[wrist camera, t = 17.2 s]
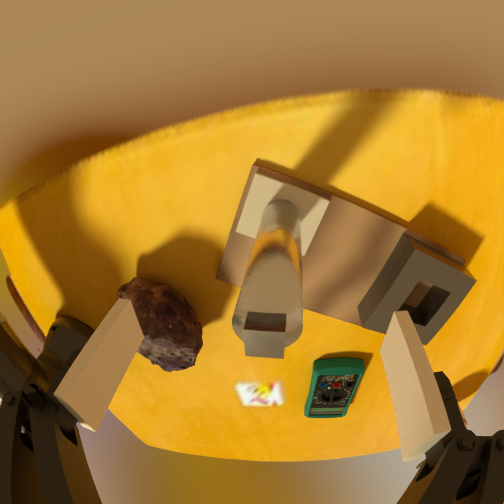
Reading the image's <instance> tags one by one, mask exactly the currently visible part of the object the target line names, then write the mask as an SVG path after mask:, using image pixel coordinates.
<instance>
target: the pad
mask: <svg viewBox="0 0 504 504" xmlns="http://www.w3.org/2000/svg"><path fill="white" fill-rule="evenodd" d="M277 199H285V200H288V201H290V202H292V203H293V204H295V205H296V207H297V208H298V210H299V213H300V226H301V252H302V256H304V255H305V253H306V251H307V249H308V247H309V245H310V243H311V241H312V239H313V237H314V235H315V232H316V230H317V228H318V226H319V224H320V222H321V220H322V217H323V215H324V213H325V211H326V209H327V206H328V204H329V202H330V201H329V199H326V198H324V197H322V196H319V195H317V194H314V193H312V192H309V191H306V190H304V189H301V188H299V187H296V186H293V185H291V184H288V183H285V182H283V181H280V180H277V179H274V178H272V177H269V176H266V175H263V174H260V173H258V172H256V173H255V175H254V178H253V181H252V184H251V187H250V190H249V193H248V196H247V199H246V202H245V205H244V208H243V211H242V214H241V217H240V220H239V223H238V226H237V229H236V232H238V233H241V234H243V235H246V236H249V237H252V238H255V239H256V235H257V232H258V228H259V225H260V222H261V218H262V215H263V211H264V209H265V207H266V206H267V205H268V204H269V203H270V202H272V201H274V200H277Z"/></svg>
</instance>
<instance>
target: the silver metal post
mask: <svg viewBox="0 0 504 504" xmlns="http://www.w3.org/2000/svg"><path fill="white" fill-rule="evenodd" d="M232 326H233V329H234V331H235V333H236V335H237V336H238V337H239V338H240V339H241V340H242V341H243V342H244V344H245V356H253V357H266V358H282V359H284V347H287V346H289V345H291V344H292V343H294V342H295V341H296V340H297V339H298V338H299V336H300V335H301V332H302V328H303V301H302V252H301V226H300V213H299V210H298V208H297V207H296V205H295V204H293V203H292V202H290V201H288V200H285V199H277V200H274V201H272V202H270V203H269V204H268V205H267V206H266V207H265V209H264V211H263V215H262V218H261V222H260V225H259V228H258V232H257V235H256V239H255V242H254V246H253V249H252V253H251V256H250V259H249V263H248V266H247V270H246V273H245V277H244V280H243V284H242V287H241V290H240V294H239V297H238V301H237V304H236V308H235V311H234V315H233V318H232Z"/></svg>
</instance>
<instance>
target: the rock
mask: <svg viewBox="0 0 504 504" xmlns="http://www.w3.org/2000/svg"><path fill="white" fill-rule="evenodd" d="M117 295H118V298H120V299H128V300H131V303H132V306H133V308H134V311H135V314H136V317H137V320H138V322H139V325H140V328H141V330H142V333H143V335H144V339H143V340H142V342H141V344H140V346H139V348H138V350H137V351H136V352H138V353H140V354H141V355H143V356H144V357H145V358H147V359H149V360H150V361H151V363H152V364H156V365H159V366H160V367H161V368H162V369H163V370H164V371H168V372H171V371H178V370H184V369H187V368H189V367H191V366H194V365H195V362H196V357H197V354H198V353H199V351H200V349H201V347H202V345H203V341H202V327H201V324H200V323H199V322H198V321H197V315H196V313H195V312H194V310H193V308H192V307H191V306H189V305H188V304H187V303H185V302H186V300H185V298H184V297H181V296H179V295H178V294H177V292H175V291H173V290H172V289H171V288H170V287H169V286H168V285H157V286H156V285H154V284H153V283H151V282H149V281H147V280H145V279H139V278H135V277H134V278H133V279H132V281H130V282H129V283H126V284H124V285H123V286H121V288H120V289H119V290H118V291H117Z"/></svg>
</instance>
